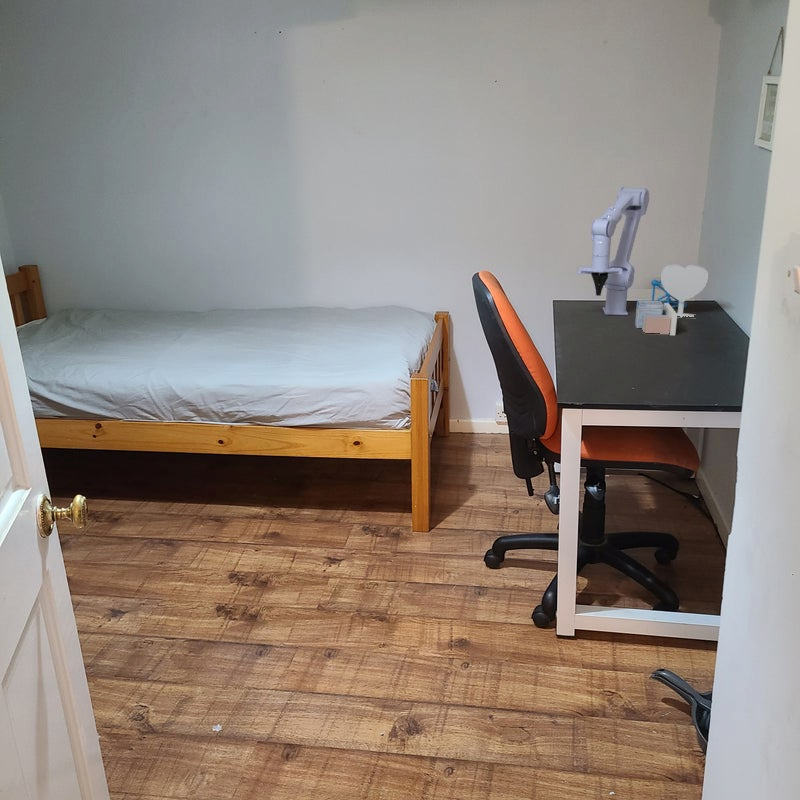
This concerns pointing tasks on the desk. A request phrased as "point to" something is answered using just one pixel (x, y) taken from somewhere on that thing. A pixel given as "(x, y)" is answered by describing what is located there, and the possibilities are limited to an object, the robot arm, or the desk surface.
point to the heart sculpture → (683, 282)
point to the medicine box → (647, 310)
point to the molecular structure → (667, 300)
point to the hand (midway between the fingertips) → (598, 295)
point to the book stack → (661, 321)
